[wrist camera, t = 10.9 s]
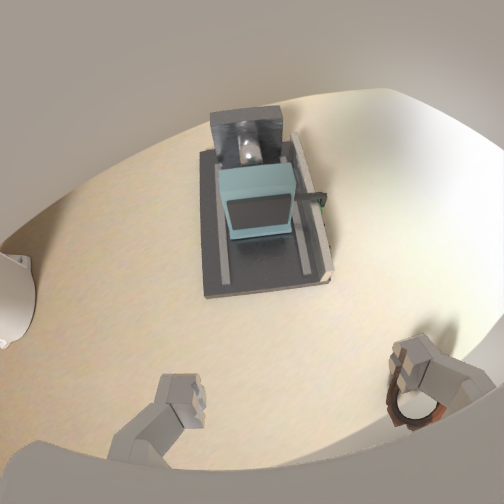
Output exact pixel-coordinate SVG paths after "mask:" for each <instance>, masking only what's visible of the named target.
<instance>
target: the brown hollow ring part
mask: <svg viewBox="0 0 504 504" xmlns="http://www.w3.org/2000/svg"><path fill="white" fill-rule="evenodd" d="M397 380H398V378H396V377H394V378H393V379H392V382H391V384H390V387H389V389H388V393H387V399H386V404H387V405H388V408H387V411H388V413H389V415H390V417H391V419H392V421H393V423H394V426H395V427H397V426H401V425H403V424H407V427H408V429H409V430H412V431H416V430H418V429H420V428H423V427H425V426H427V425H429V424H432V423H434V422H436V421H438V420H440V419H441V418H442V415H443V414H444V412H445V411H446V409H447V407H445V406H444V405H442V404H440V403H439V402H437V405H436V408H435V409H434V411H432V412H431V413H430V414H429V415H428V416H426V417H424V418H421V419H410V418H407V417H405V416H404V415H403V414H402V413H401V412H400V411H399V408H398V404H397V397H398V392H399V390H400V388H399V386H398V385H397Z"/></svg>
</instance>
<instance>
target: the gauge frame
mask: <svg viewBox="0 0 504 504" xmlns="http://www.w3.org/2000/svg"><path fill="white" fill-rule="evenodd" d="M210 127H211V132H212V136H213V141H214V145H215V150H209V151H203V152H200V220H201V248H202V270H203V287H204V297H205V298H206V299H210V298H220V297H229V296H238V295H246V294H255V293H263V292H271V291H279V290H286V289H294V288H301V287H308V286H315V285H322V284H328V283H329V282H330V281H331V279H330V276H331V275H332V273H333V272H334V267H333V262H332V258H331V253H330V246H329V245H328V240H327V236H326V232H325V228H324V226H325V224H324V223H323V220H322V216H321V215H322V210H321V206H320V203H319V199H312V200H301V201H294V202H293V209H292V215H291V222H290V224H291V229H292V230H291V232H290V233H281V234H273V235H264V236H256V237H248V238H239V239H230V231H229V227H228V223H227V219H226V215H225V211H224V207H223V204H222V200H221V196H220V190H219V173H218V171H219V170H226V169H233V168H241V167H250V166H259V165H269V164H279V163H291V165H292V169H293V173H294V177H295V181H296V189H295V194H304V193H315V190H314V186H313V183H312V179H311V176H310V172H309V169H308V166H307V162H306V159H305V156H304V152H303V149H302V146H301V143H300V140H299V137H298V134H297V132H293V133H291V134H290V142H282V129H283V116H282V113H281V110H280V107H279V105H278V106H264V107H253V108H243V109H235V110H227V111H220V112H213V113H210Z"/></svg>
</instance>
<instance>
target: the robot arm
mask: <svg viewBox="0 0 504 504" xmlns="http://www.w3.org/2000/svg"><path fill="white" fill-rule="evenodd" d="M34 306H35V286H34V281H33V278H32V275H31V259H30V257H28V256H25V255H7V254H3V253H1V252H0V348H3V349H6V348H7V347H8V346H9V344H10V343H11V342H13V341H15V340H18V339H19V338H21V337H22V336H23V335H24V333H25V332H26V330H27V329H28V327H29V325H30V322H31V319H32V316H33V312H34ZM392 350H393V351H394V352H393V354H392V355H391V356H390V359H389V368H390V372H391V374H392V376H394V377H396V378H398V380H397V385H398V386H399V388H400V390H401V392H402V394H403V393H406V392H409V391H412V390H415V389H418V388H419V390H421V391H422V392H424V393H425V394H427V395H428V396H430V397H431V398H433V399H434V400H436V401H437V402H439V403H440V404H442V405H444V406H445V407H447V409H446V411H445V412H444V414H443V415H442V419H440V420H438V421H436V422H434V423H432V424H429V425H427V426H425V427H423V428H420V429H418V430H416V431H413V432H411V433H408V434H406V435H403V436H401V437H398V438H395V439H392V440H390V441H387V442H384V443H381V444H378V445H375V446H371V447H368V448H365V449H361V450H358V451H355V452H351V453H347V454H343V455H339V456H335V457H330V458H326V459H321V460H316V461H311V462H305V463H300V464H293V465H286V466H279V467H269V468H259V469H245V470H182V469H172V468H171V467H170V466H169V465H168V464H167V462H166V461H165V460H164V459H163V458H162V457H163V456H164V455H165V453H166V452H167V451H168V450H169V449H170V447H171V446H172V445H173V444H174V442H175V441H176V440H177V439H178V437H179V436H180V435H181V433H182V432H183V431H184V429H197V428H204V425H205V414H204V411H203V410H204V409H205V408H206V393H205V389H204V386H202V385H201V378H200V376H199V374H162V376H161V377H160V381H159V385H158V389H157V392H156V396H155V400H154V403H150V404H149V405H148V406H147V407H146V408H145V409H143V410H142V411H141V412H140V413H139V414H138V415H137V416H136V417H134V418H133V419H132V420H131V421H130V422H129V423H128V424H126V425H125V426H124V427H123V428H122V429H121V430H119V431H118V432H117V433H116V434H115V435H114V437H113V440H112V443H111V446H110V450H109V453H108V457H107V459H103V458H99V457H95V456H91V455H87V454H83V453H79V452H76V451H73V450H69V449H66V448H63V447H60V446H57V445H54V444H51V443H48V442H45V441H42V440H36V441H34V442H32V443H30V444H28V445H27V446H25V447H23V448H22V449H20V450H19V451H17V452H16V453H14V454H13V455H12V457H11V458H10V459H9V461H8V463H7V464H6V466H5V468H4V471H3V473H2V475H1V477H0V504H504V383H502V384H501V385H499V386H498V387H496V386H495V384H494V383H493V382H492V381H491V379H490V378H489V377H488V376H487V374H486V373H485V372H484V370H481V369H479V368H477V367H474V366H472V365H469V364H467V363H465V362H462V361H460V360H457V359H455V358H453V357H450V356H448V355H445V354H444V355H442V354H441V353H440V351H439V350H438V349H437V348H436V346H435V345H434V344H433V343H432V341H431V340H430V339H429V338H428V336H427V335H426V334H424V333H423V334H420V335H416V336H414V337H410V338H407V339H403V340H400V341H397V342H395V343H394V344H393V347H392Z"/></svg>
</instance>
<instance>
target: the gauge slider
mask: <svg viewBox="0 0 504 504" xmlns="http://www.w3.org/2000/svg"><path fill="white" fill-rule="evenodd" d="M218 173H219V190H220V196H221V200H222V204H223V207H224V211H225V215H226V219H227V223H228V227H229V231H230V239H239V238H248V237H256V236H264V235H273V234H281V233H290V232H291V230H292V229H291V224H290V222H291V215H292V209H293V202H294V201H301V200H312V199H320V201H319V203H320V206H321V207H324V206H325V203H326V200H327V194H326V193H322V192H315V193H304V194H295V189H296V181H295V177H294V173H293V169H292V165H291V163H279V164H269V165H259V166H250V167H241V168H233V169H226V170H219V171H218Z"/></svg>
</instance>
